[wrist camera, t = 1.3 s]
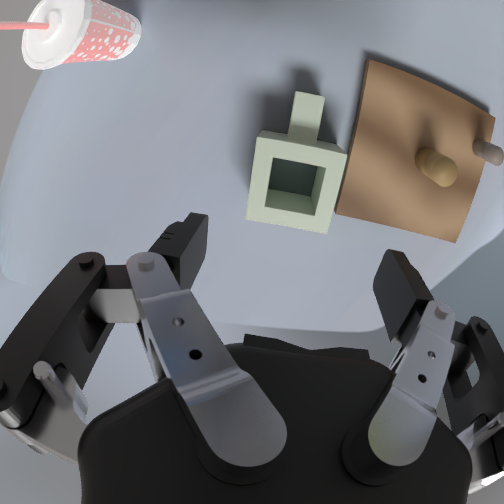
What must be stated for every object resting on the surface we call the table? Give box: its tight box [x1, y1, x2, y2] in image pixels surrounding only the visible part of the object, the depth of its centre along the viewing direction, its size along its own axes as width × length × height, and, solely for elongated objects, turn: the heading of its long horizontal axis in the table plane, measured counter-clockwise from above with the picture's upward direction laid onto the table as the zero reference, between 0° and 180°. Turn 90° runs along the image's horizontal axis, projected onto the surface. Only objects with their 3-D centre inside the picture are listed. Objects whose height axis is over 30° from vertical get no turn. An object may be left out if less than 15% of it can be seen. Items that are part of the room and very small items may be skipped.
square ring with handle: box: [245, 91, 347, 234], centre depth 20 cm, size 10×6×4 cm, turn 172°
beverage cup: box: [0, 0, 141, 70], centre depth 11 cm, size 6×6×14 cm
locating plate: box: [334, 59, 504, 243], centre depth 18 cm, size 13×13×4 cm
